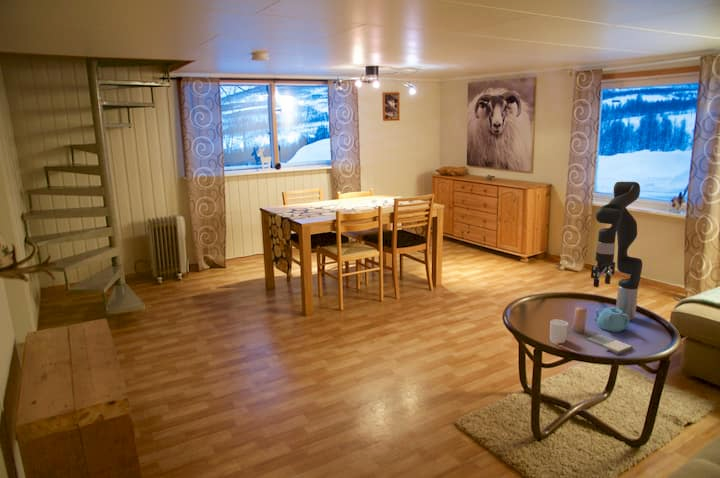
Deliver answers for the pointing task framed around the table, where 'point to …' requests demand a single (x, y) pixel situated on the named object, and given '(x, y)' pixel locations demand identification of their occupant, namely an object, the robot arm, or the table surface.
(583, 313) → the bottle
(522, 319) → the table surface
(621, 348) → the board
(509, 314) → the table surface
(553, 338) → the white cup
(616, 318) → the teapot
